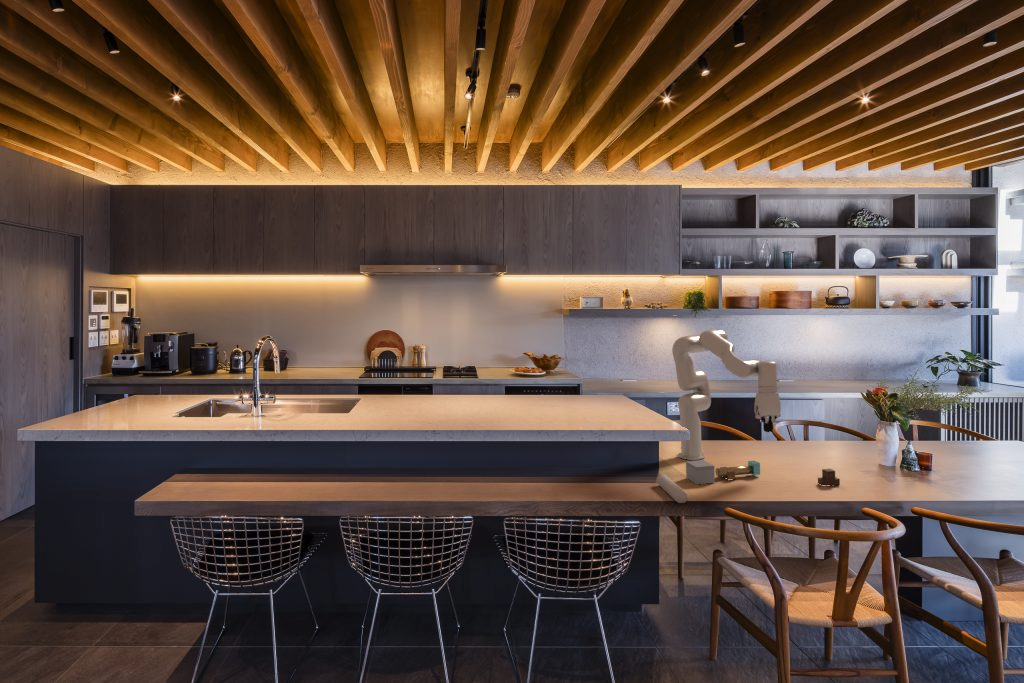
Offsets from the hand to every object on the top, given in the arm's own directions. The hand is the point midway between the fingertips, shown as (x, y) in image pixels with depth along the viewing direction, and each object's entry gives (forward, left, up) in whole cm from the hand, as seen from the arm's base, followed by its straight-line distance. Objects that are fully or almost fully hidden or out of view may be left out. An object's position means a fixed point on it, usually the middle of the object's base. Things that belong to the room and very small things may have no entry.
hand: (768, 431), depth 265 cm
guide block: (0, -19, -19) cm, 27 cm away
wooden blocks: (+22, +14, -20) cm, 33 cm away
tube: (+14, -51, -20) cm, 56 cm away
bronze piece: (0, -15, -18) cm, 23 cm away
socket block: (0, -32, -19) cm, 37 cm away
